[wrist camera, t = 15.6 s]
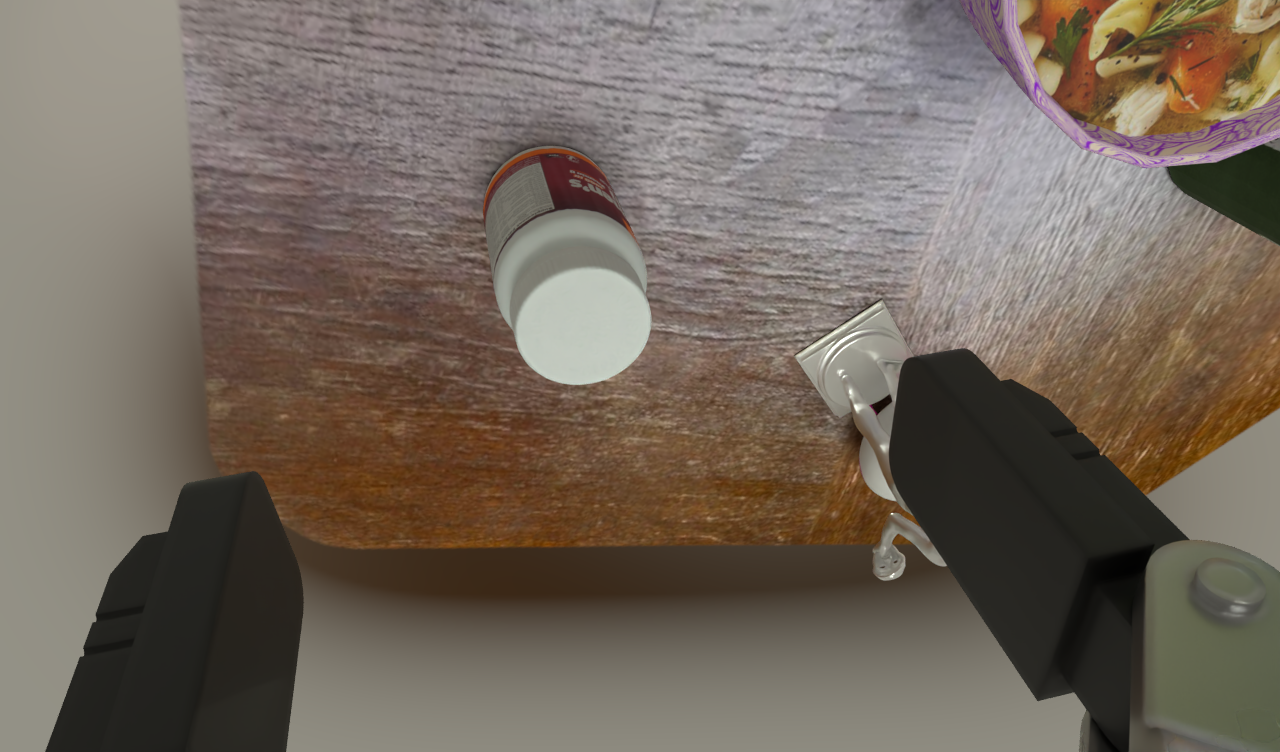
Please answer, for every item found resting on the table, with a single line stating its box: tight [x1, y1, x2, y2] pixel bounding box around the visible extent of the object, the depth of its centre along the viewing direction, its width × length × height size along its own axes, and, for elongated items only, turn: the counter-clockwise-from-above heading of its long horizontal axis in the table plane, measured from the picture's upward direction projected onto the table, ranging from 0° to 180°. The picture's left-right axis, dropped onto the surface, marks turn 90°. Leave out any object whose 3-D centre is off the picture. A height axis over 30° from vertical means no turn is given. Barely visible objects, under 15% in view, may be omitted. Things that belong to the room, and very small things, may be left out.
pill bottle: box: [483, 146, 651, 385], centre depth 37 cm, size 6×6×11 cm
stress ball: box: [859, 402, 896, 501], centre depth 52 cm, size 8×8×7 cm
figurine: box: [794, 300, 947, 581], centre depth 44 cm, size 8×7×18 cm
